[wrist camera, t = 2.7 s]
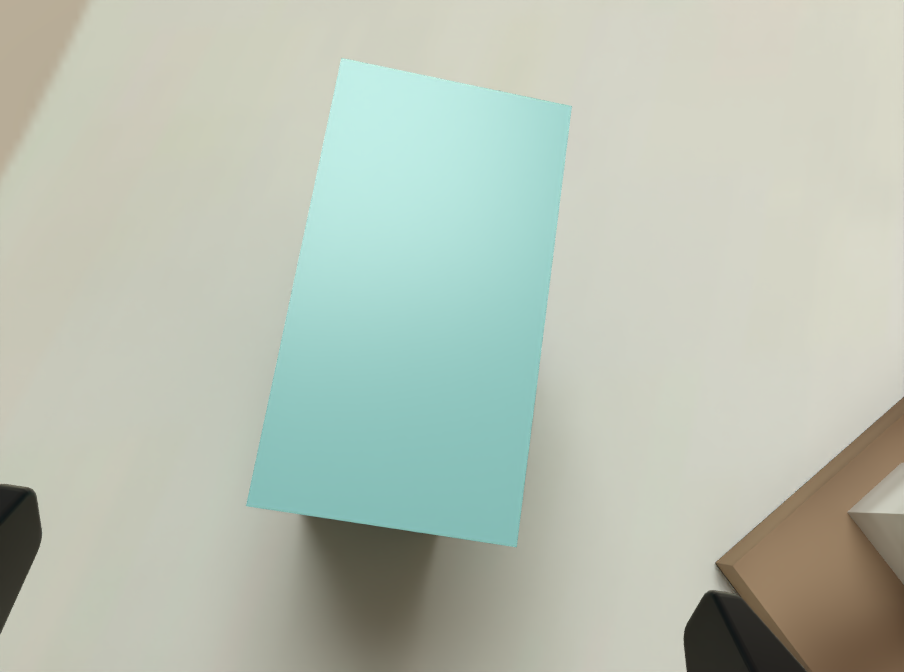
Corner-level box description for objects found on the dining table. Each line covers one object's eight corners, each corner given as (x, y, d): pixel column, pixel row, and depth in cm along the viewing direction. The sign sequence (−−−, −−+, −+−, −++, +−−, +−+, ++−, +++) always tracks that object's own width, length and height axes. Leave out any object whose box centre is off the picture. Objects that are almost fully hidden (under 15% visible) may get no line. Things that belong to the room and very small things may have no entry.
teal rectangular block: (441, 523, 20) (516, 547, 11) (300, 501, 20) (246, 506, 10) (478, 276, 22) (571, 106, 12) (349, 252, 22) (341, 58, 12)
